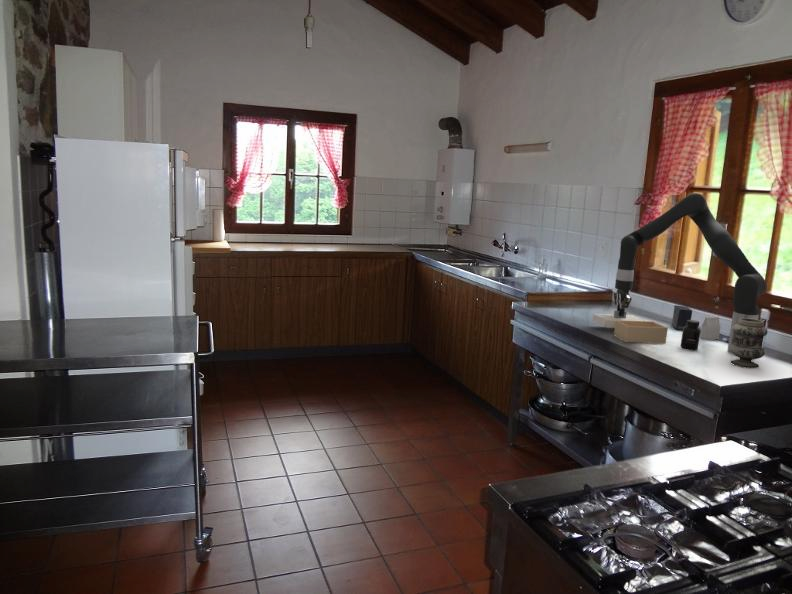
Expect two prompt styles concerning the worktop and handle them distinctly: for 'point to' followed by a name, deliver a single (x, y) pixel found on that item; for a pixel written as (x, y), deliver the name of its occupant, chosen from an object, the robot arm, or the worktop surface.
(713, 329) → the printed product carton
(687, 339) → the supplement bottle
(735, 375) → the worktop surface
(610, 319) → the mailer lid
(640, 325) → the box
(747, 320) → the apothecary jar
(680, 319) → the small box
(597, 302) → the worktop surface
